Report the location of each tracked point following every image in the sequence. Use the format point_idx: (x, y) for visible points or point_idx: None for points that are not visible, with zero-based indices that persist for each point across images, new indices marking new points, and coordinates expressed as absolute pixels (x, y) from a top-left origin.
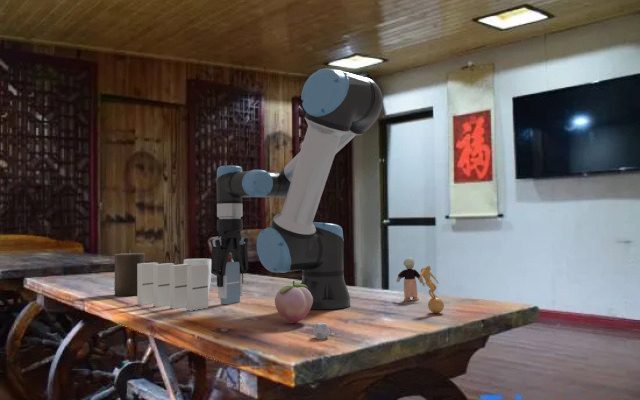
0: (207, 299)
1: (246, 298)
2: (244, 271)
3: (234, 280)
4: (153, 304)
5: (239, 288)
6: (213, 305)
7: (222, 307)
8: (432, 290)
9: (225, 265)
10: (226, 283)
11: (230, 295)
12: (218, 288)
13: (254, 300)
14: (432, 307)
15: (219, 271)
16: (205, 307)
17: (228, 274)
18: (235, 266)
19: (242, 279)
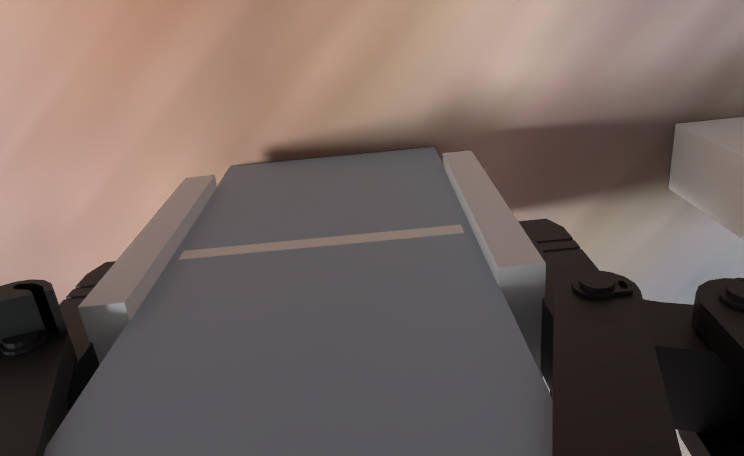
0: (733, 145)
1: None
2: (18, 303)
3: (280, 261)
4: None
5: (203, 218)
6: (525, 210)
7: (581, 36)
8: None
9: (577, 400)
10: (473, 215)
11: (368, 180)
12: None
13: (49, 135)
14: None
15: (727, 303)
16: (716, 123)
17: (429, 299)
18: (205, 410)
19: (86, 292)
